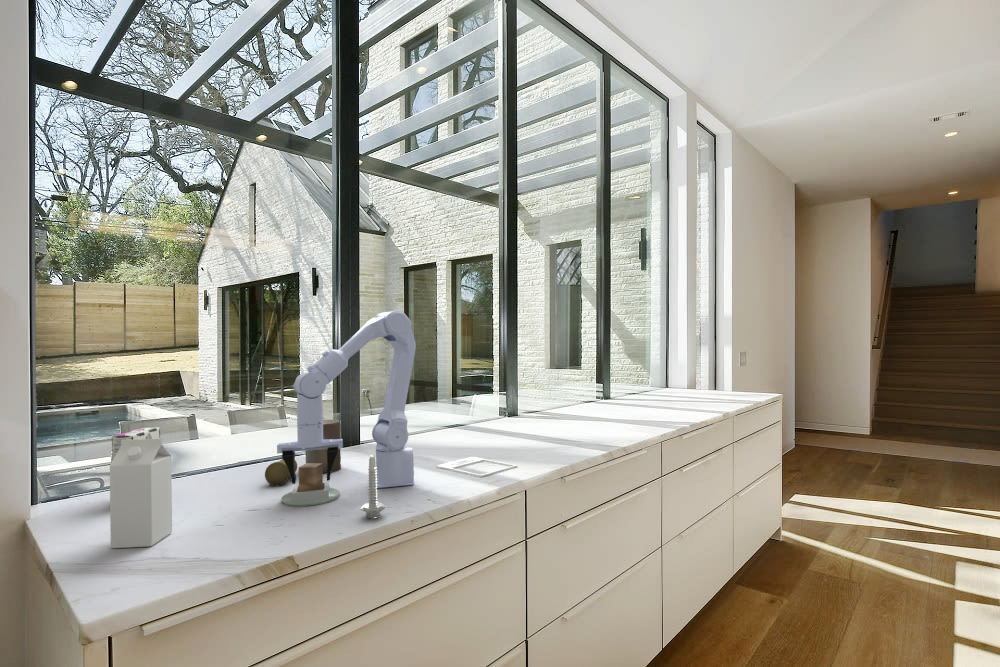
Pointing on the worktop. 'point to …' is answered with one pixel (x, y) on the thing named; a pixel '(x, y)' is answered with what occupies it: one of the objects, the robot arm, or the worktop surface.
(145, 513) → the milk carton
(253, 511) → the worktop surface
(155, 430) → the candy bar box
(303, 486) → the brown tall block
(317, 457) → the pillar candle
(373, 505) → the screw
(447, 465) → the photo frame
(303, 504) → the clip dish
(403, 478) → the robot arm
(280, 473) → the olive cylinder
